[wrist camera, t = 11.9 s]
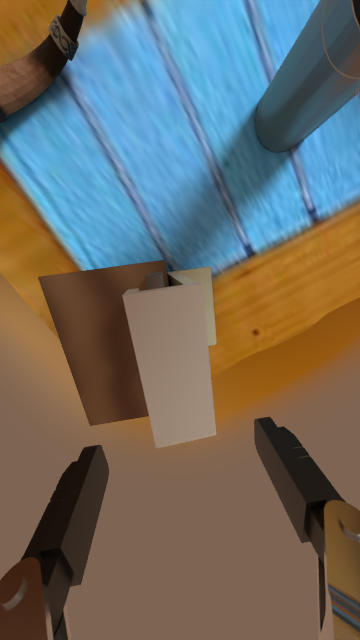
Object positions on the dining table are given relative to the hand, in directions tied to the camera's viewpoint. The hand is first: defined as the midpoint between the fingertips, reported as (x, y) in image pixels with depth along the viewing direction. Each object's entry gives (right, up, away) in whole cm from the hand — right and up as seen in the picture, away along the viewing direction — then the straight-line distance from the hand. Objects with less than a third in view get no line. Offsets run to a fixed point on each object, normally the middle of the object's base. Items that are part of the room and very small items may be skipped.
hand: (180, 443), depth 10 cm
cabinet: (-8, +9, +30) cm, 32 cm away
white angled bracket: (0, +8, +25) cm, 26 cm away
